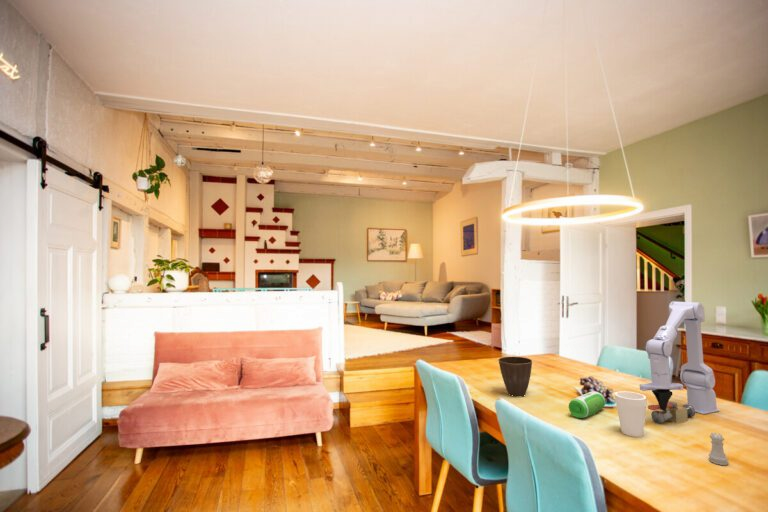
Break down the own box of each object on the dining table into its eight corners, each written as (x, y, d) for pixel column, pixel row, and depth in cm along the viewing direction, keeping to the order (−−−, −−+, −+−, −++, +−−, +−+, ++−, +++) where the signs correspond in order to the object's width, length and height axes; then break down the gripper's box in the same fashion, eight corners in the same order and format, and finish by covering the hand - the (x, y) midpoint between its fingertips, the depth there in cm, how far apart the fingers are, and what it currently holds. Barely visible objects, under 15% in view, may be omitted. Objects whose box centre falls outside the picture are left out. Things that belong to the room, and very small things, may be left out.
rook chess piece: (708, 457, 116) (706, 430, 116) (728, 461, 113) (726, 433, 113) (708, 463, 112) (706, 435, 113) (729, 467, 109) (727, 438, 110)
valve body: (681, 413, 150) (680, 401, 151) (698, 419, 145) (697, 406, 145) (649, 420, 145) (648, 407, 145) (665, 425, 139) (664, 412, 140)
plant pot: (521, 402, 169) (519, 365, 170) (493, 394, 181) (491, 359, 182) (540, 395, 178) (538, 360, 179) (512, 387, 190) (511, 355, 191)
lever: (672, 404, 147) (671, 401, 147) (679, 406, 144) (679, 403, 144) (647, 408, 143) (646, 404, 143) (654, 410, 141) (654, 407, 141)
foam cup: (633, 440, 128) (631, 401, 129) (610, 429, 137) (608, 393, 138) (655, 436, 131) (653, 397, 131) (631, 426, 140) (629, 390, 140)
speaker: (586, 421, 145) (585, 401, 146) (567, 416, 151) (566, 397, 152) (607, 411, 156) (606, 392, 156) (589, 406, 162) (588, 388, 162)
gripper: (672, 369, 146) (675, 405, 145) (633, 370, 146) (636, 406, 145) (686, 374, 139) (689, 412, 138) (645, 375, 139) (648, 413, 138)
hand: (662, 409), depth 141 cm, fingers closed, pressing on lever
